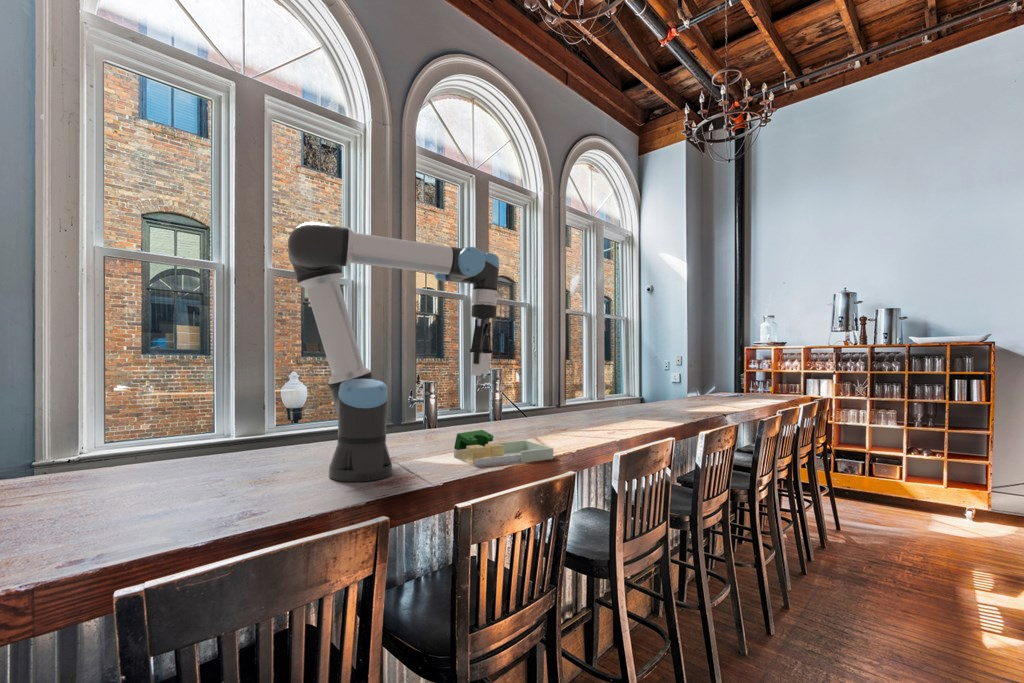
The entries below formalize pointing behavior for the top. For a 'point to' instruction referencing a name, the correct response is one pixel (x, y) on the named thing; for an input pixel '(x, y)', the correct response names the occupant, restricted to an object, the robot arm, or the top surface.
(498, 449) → the pale yellow cube
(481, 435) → the clamp
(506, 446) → the tray
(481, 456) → the chip
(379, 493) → the top surface
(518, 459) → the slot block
